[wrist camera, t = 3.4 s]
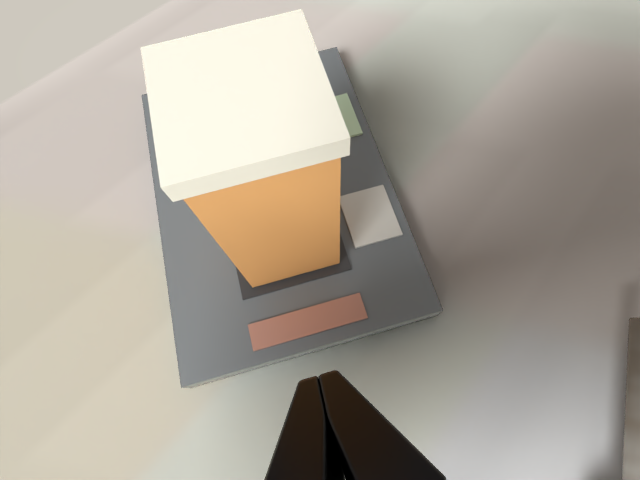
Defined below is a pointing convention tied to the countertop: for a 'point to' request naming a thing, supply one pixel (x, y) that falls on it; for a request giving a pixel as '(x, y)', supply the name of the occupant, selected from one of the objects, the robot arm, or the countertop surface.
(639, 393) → the wooden handled tool
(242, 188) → the lidded box
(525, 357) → the countertop surface
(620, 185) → the countertop surface
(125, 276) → the countertop surface
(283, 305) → the switch board
